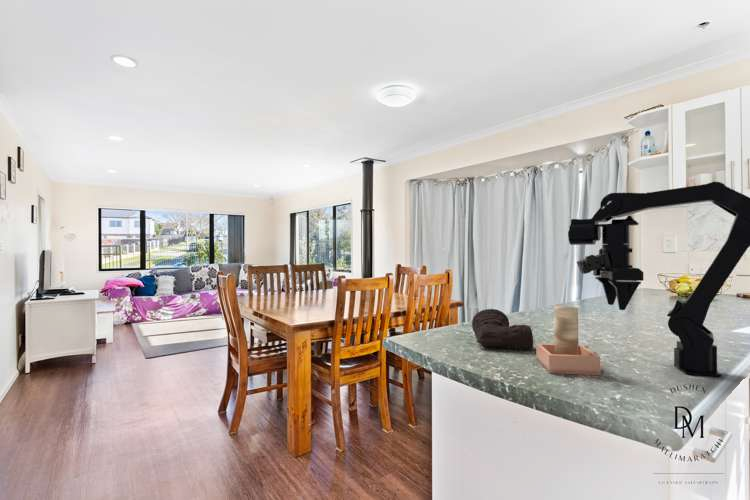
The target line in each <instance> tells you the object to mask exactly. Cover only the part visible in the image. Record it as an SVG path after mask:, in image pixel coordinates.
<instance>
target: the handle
mask: <svg viewBox="0 0 750 500" xmlns="http://www.w3.org/2000/svg"><path fill="white" fill-rule="evenodd" d="M582 345H583V346H584V347H586V348H587V349H589V346H588V345H587V344H585V345H584V344H582ZM591 351H592V352H594V353H595V354H597V352H596V351H595V350H591Z"/></svg>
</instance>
